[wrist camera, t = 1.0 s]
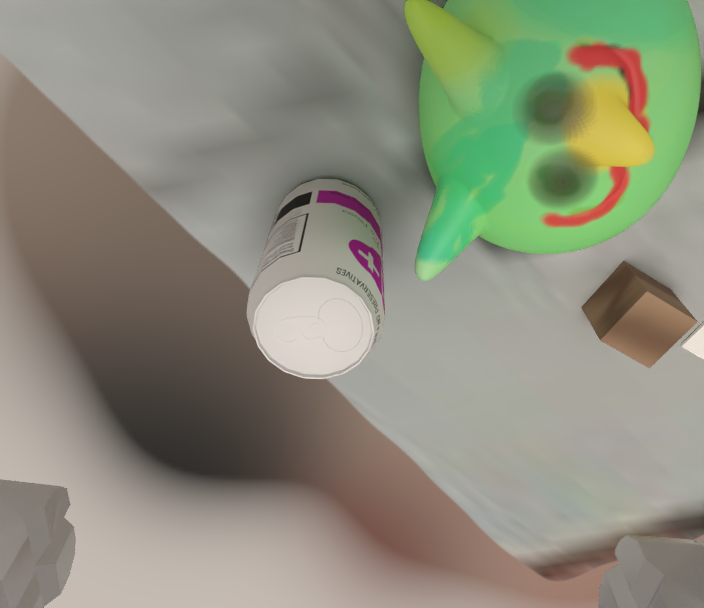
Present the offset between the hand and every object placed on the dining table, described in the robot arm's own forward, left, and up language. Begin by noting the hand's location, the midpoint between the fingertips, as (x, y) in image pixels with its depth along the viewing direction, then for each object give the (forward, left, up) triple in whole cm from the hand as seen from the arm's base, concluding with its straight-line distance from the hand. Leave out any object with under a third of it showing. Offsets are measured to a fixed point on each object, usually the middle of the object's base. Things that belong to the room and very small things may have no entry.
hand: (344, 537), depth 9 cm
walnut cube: (+5, +28, -40) cm, 48 cm away
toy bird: (-4, +10, -40) cm, 41 cm away
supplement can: (+12, +4, -40) cm, 41 cm away
